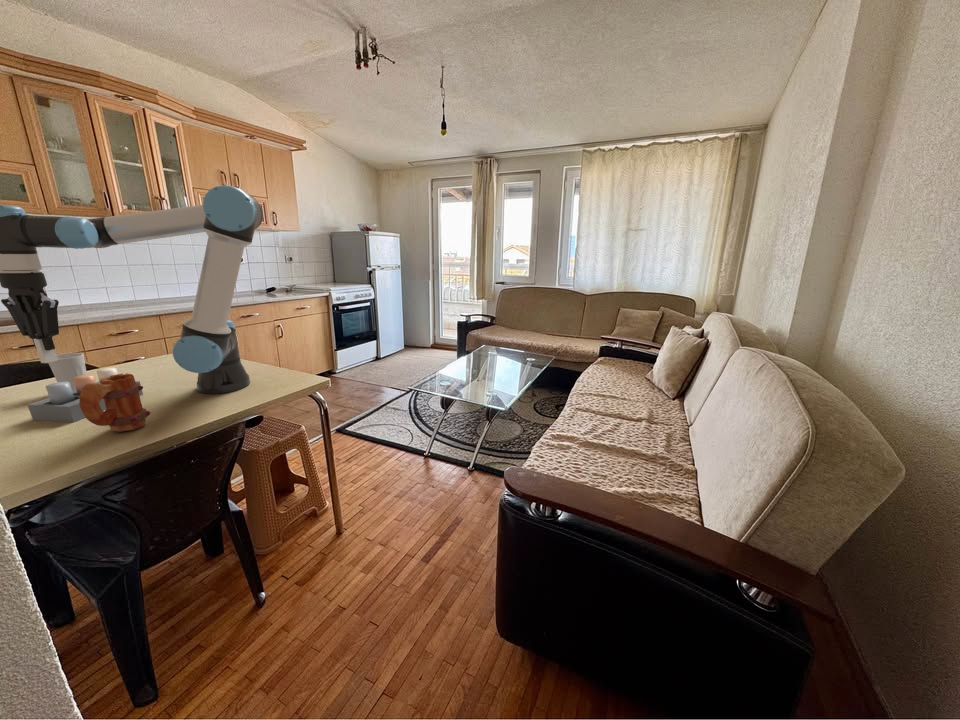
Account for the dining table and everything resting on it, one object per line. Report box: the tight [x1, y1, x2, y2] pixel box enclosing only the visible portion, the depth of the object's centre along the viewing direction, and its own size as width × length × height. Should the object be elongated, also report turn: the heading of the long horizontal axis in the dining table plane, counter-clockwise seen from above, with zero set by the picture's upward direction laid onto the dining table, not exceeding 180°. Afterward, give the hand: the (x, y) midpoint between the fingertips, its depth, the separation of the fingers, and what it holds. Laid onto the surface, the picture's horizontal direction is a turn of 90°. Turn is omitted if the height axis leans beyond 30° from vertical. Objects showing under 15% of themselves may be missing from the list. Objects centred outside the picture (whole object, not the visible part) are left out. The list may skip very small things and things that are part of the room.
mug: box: [80, 372, 151, 433], centre depth 93 cm, size 15×8×15 cm, turn 5°
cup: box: [48, 352, 88, 390], centre depth 119 cm, size 8×8×12 cm
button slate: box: [45, 382, 75, 405], centre depth 102 cm, size 4×4×5 cm
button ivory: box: [96, 367, 119, 382], centre depth 114 cm, size 4×4×5 cm
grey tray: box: [27, 380, 144, 423], centre depth 109 cm, size 12×20×4 cm, turn 176°
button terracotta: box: [73, 373, 98, 395], centre depth 108 cm, size 4×4×5 cm
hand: (49, 361), depth 99 cm, fingers closed
